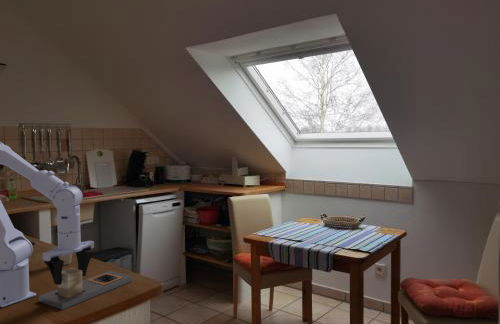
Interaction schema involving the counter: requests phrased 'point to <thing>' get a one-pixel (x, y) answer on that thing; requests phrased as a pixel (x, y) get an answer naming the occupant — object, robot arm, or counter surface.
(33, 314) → the counter surface
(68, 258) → the handle
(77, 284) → the peg
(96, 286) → the grey board with holes
